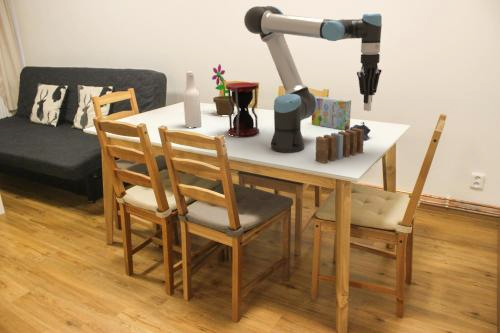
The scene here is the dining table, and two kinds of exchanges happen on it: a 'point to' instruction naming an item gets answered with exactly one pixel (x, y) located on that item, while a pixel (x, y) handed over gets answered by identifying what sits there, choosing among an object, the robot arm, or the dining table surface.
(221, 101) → the flowerpot
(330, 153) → the domino
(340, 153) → the domino
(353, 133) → the domino
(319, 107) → the snack box
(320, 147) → the domino
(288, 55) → the robot arm
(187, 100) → the alcohol
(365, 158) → the dining table surface
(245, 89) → the hourglass
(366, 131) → the frog
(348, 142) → the domino
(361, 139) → the domino
